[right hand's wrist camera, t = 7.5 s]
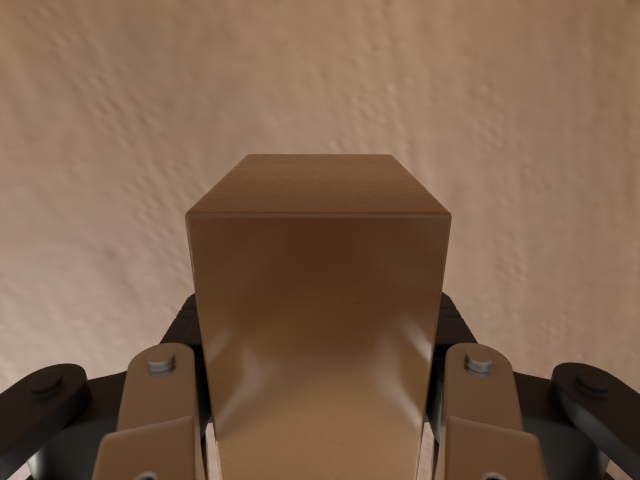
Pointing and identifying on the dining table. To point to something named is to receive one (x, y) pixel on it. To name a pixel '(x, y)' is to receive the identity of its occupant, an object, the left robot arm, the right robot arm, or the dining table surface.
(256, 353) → the post
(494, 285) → the dining table surface
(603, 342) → the dining table surface
